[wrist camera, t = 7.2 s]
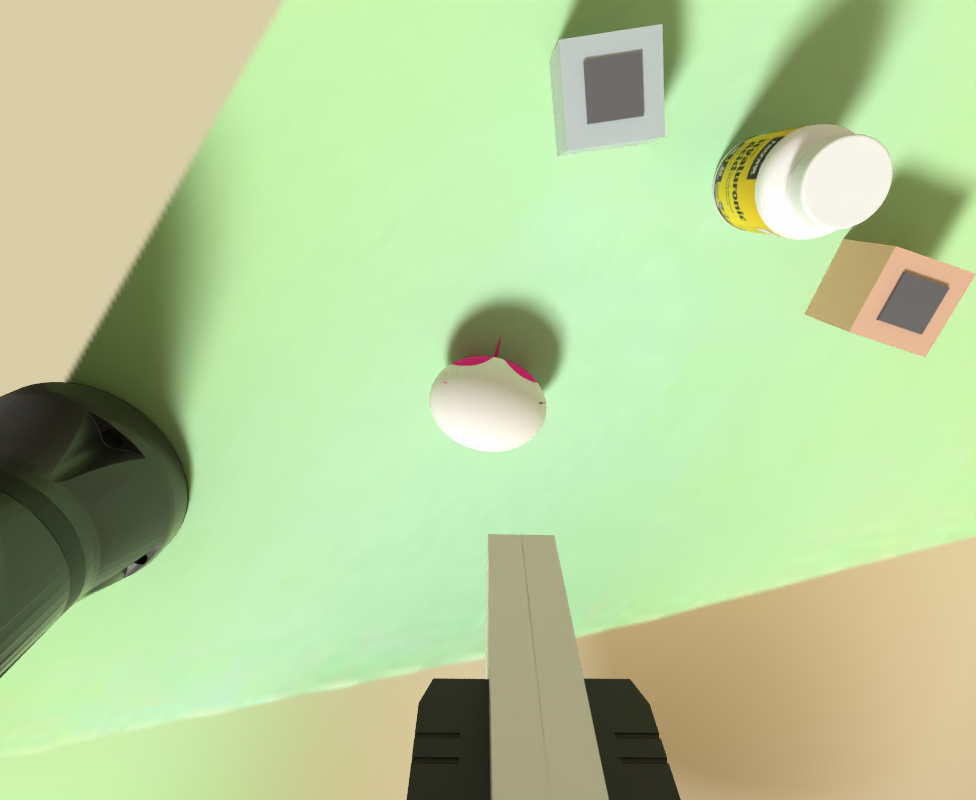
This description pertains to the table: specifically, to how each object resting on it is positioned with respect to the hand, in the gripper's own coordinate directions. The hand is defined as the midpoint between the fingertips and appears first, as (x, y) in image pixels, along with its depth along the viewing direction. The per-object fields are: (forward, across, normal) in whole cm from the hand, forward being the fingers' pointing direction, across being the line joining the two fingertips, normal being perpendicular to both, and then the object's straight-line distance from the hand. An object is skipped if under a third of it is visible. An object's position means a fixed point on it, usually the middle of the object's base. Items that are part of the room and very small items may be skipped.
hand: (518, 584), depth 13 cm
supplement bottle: (+26, +15, +9) cm, 32 cm away
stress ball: (+26, 0, -4) cm, 26 cm away
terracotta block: (+26, +23, +3) cm, 35 cm away
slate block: (+26, +6, +14) cm, 30 cm away
